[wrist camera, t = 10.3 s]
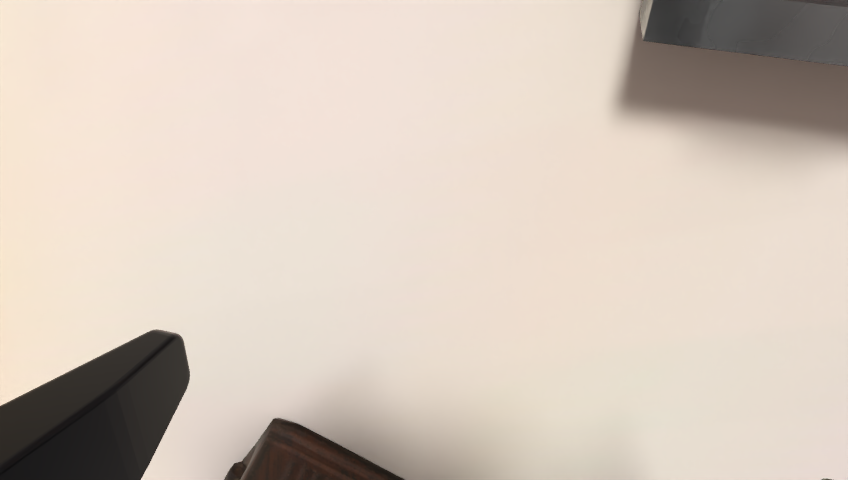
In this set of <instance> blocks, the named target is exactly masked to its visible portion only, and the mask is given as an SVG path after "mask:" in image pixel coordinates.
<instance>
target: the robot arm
mask: <svg viewBox="0 0 848 480" xmlns="http://www.w3.org/2000/svg"><path fill="white" fill-rule="evenodd" d="M189 379H190V371H189V366H188V361H187V356H186V351H185V346H184V341H183V339H182V337H181V336H180V335H179V334H176V333H172V332H167V331H163V330H152V331H149V332H147V333H145V334H143V335H141V336H139V337H137V338H135V339H133V340H131V341H129V342H127V343H125V344H123V345H121V346H119V347H117V348H115V349H113V350H111V351H109V352H107V353H105V354H103V355H101V356H99V357H97V358H95V359H93V360H91V361H89V362H87V363H85V364H83V365H81V366H79V367H77V368H75V369H73V370H71V371H69V372H67V373H65V374H63V375H61V376H59V377H57V378H55V379H53V380H51V381H49V382H47V383H45V384H43V385H41V386H39V387H37V388H35V389H33V390H31V391H29V392H27V393H25V394H23V395H21V396H19V397H17V398H15V399H13V400H11V401H9V402H7V403H5V404H3V405H1V406H0V480H141V478H142V476H143V474H144V472H145V471H146V469H147V467H148V465H149V463H150V461H151V459H152V457H153V455H154V453H155V451H156V449H157V447H158V445H159V443H160V441H161V439H162V437H163V435H164V433H165V431H166V429H167V427H168V425H169V423H170V421H171V419H172V417H173V415H174V413H175V411H176V409H177V407H178V405H179V403H180V401H181V399H182V397H183V395H184V393H185V391H186V389H187V386H188V383H189ZM822 480H832V479H822Z"/></svg>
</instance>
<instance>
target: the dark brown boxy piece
mask: <svg viewBox="0 0 848 480" xmlns="http://www.w3.org/2000/svg"><path fill="white" fill-rule="evenodd" d="M224 480H403V479H402V478H400V477H398V476H396V475H394V474H392V473H390V472H388V471H387V470H385V469H383V468H381V467H379V466H377V465H375V464H373V463H371V462H370V461H368V460H366V459H364V458H362V457H360V456H358V455H356V454H354V453H353V452H351V451H349V450H347V449H345V448H343V447H341V446H339V445H337V444H335V443H334V442H332V441H330V440H328V439H326V438H324V437H322V436H320V435H318V434H316V433H314V432H312V431H310V430H308V429H306V428H305V427H303V426H301V425H299V424H296V423H293V422H290V421H287V420H283V419H280V418H275V419H273V420H272V422H271V423H270V425H269V426H268V427H267V429H266V430H265V432H264V433H263V435H262V436H261V437H260V439H259V440H258V442H257V443H256V444H255V446H254V447H253V448H252V450H251V451H250V452H249V453H248V454H247V456H246V457H245V458H244V459H243V461H242V462H238V463H234V465H233V466H232V467H231V469H230V470H229V471H228V473H227V475H226V477H225V479H224Z"/></svg>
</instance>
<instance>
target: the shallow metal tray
mask: <svg viewBox="0 0 848 480" xmlns="http://www.w3.org/2000/svg"><path fill="white" fill-rule="evenodd" d="M639 18H640V25H641V31H642V37H643V41H649V42H657V43H665V44H673V45H681V46H689V47H697V48H705V49H713V50H721V51H729V52H737V53H745V54H753V55H761V56H769V57H777V58H785V59H793V60H801V61H809V62H818V63H826V64H834V65H842V66H848V0H642V4H641V8H640V12H639Z"/></svg>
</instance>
